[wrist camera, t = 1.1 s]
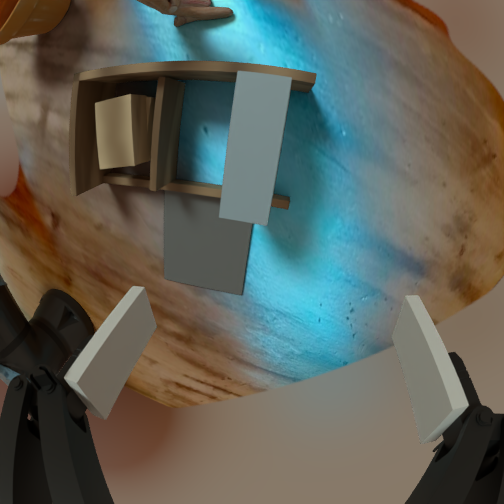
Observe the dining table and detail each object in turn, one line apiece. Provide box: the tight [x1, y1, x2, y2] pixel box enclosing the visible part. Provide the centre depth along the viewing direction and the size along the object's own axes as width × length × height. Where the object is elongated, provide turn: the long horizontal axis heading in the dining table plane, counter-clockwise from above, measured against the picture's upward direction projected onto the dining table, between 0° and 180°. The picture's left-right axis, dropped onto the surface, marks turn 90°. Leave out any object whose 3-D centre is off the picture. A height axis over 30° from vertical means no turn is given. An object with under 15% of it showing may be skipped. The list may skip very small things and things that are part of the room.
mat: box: [164, 190, 252, 295], centre depth 37 cm, size 12×14×1 cm
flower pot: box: [0, 0, 71, 45], centre depth 15 cm, size 14×14×13 cm
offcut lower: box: [146, 97, 156, 162], centre depth 30 cm, size 5×8×4 cm, turn 171°
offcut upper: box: [95, 94, 149, 169], centre depth 27 cm, size 5×8×4 cm, turn 0°
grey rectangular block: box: [219, 71, 292, 226], centre depth 25 cm, size 4×12×12 cm, turn 172°
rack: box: [69, 61, 316, 209], centre depth 27 cm, size 26×15×8 cm, turn 82°
